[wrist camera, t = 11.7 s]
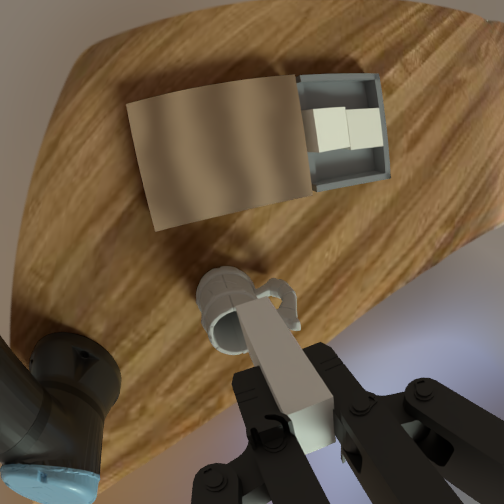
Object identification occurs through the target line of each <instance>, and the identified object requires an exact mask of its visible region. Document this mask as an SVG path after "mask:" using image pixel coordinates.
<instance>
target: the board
mask: <svg viewBox="0 0 504 504" xmlns="http://www.w3.org/2000/svg"><path fill="white" fill-rule="evenodd" d="M126 107H127V112H128V117H129V122H130V127H131V132H132V137H133V142H134V147H135V151H136V156H137V160H138V165H139V169H140V173H141V178H142V182H143V186H144V190H145V194H146V198H147V202H148V206H149V210H150V213H151V217H152V221H153V225H154V228H155V232H156V231H160V230H164V229H168V228H172V227H176V226H180V225H184V224H188V223H192V222H196V221H200V220H204V219H209V218H213V217H217V216H221V215H226V214H230V213H234V212H238V211H243V210H247V209H252V208H256V207H261V206H265V205H270V204H274V203H279V202H283V201H288V200H293V199H298V198H302V197H307V196H312V195H313V192H312V184H311V176H310V168H309V161H308V154H307V147H306V140H305V133H304V126H303V120H302V114H301V107H300V101H299V95H298V90H297V84H296V78H295V74H294V75H282V76H271V77H262V78H253V79H245V80H238V81H231V82H225V83H219V84H213V85H207V86H202V87H196V88H191V89H186V90H181V91H177V92H172V93H168V94H163V95H159V96H155V97H151V98H147V99H143V100H140V101H136V102H132V103H129V104H126Z"/></svg>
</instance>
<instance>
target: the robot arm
mask: <svg viewBox="0 0 504 504" xmlns="http://www.w3.org/2000/svg"><path fill="white" fill-rule="evenodd" d="M235 308H236V311H237V315H238V318H239V321H240V325H241V328H242V332H243V335H244V338H245V342H246V345H247V349H248V352H249V354H250V357H251V359H252V361H253V364H254V366H255V367H253V368H250V369H247V370H244V371H240V372H237V373H234V376H233V380H232V387H233V390H234V393H235V396H236V399H237V402H238V406H239V409H240V412H241V415H242V418H243V420H244V423H245V426H246V434H247V438H248V440H249V442H248V446H247V448H246V450H245V451H244V452H243V453H242V455H240V456H239V457H238V458H236V459H234V460H233V461H231V462H230V463H228V464H221V463H214V464H210V465H207V466H205V467H203V468H201V469H200V470H199V471H198V473H197V474H196V475H195V478H194V481H193V488H192V499H191V504H267V503H268V502H269V501H271V500H272V503H273V504H330V502H329V501H328V499H327V497H326V495H325V493H324V491H323V489H322V487H321V485H320V483H319V481H318V480H317V477H316V476H315V474H314V472H313V470H312V468H311V466H310V464H309V462H308V460H307V458H306V456H305V455H306V454H308V453H311V452H313V451H316V450H318V449H321V448H323V447H325V446H328V445H330V444H332V443H335V442H336V438H335V435H336V437H337V439H338V440H339V442H340V444H341V460H342V463H344V462H345V459H346V461H347V462H348V464H349V466H350V467H351V469H352V471H353V472H354V474H355V476H356V477H357V479H358V481H359V482H360V484H361V485H362V487H363V489H364V490H365V492H366V493H367V495H368V497H369V499H370V500H371V502H372V504H463V502H462V501H461V500H460V498H459V497H458V496H457V495H456V493H455V492H454V491H453V490H452V488H451V487H450V486H449V485H448V483H447V482H446V481H445V479H446V480H447V481H449V482H450V483H451V484H453V485H454V486H456V487H457V488H459V489H460V490H461V491H463V492H464V493H466V494H467V495H469V496H470V497H472V498H473V499H474V500H476V501H477V502H479V503H480V504H504V421H503V420H501V419H500V418H498V417H496V416H495V415H493V414H491V413H489V412H488V411H486V410H484V409H483V408H481V407H479V406H478V405H476V404H474V403H473V402H471V401H469V400H468V399H466V398H464V397H463V396H461V395H459V394H457V393H456V392H454V391H453V390H451V389H449V388H447V387H446V386H444V385H443V384H441V383H439V382H438V381H436V380H433V379H431V378H419V379H415V380H414V381H412V382H411V383H409V384H408V386H407V387H406V389H405V392H400V393H396V394H392V395H386V396H379V395H375V394H374V393H371V392H368V391H365V389H364V388H362V386H361V385H360V384H359V382H358V381H357V380H356V379H355V377H354V376H353V375H352V373H351V372H350V371H349V370H348V368H347V367H346V366H345V365H344V364H343V362H342V361H341V359H340V358H338V356H337V354H336V353H335V352H334V350H333V349H332V348H331V347H329V346H327V345H325V344H324V343H322V342H319V343H316V344H314V345H311V346H309V347H306V348H304V349H302V348H301V347H300V345H299V344H298V342H297V341H296V339H295V338H294V336H293V335H292V333H291V332H290V330H289V329H288V327H287V326H286V324H285V323H284V321H283V320H282V318H281V316H280V315H279V313H278V312H277V310H276V309H275V307H274V306H273V304H272V303H271V301H270V300H269V298H268V297H267V296H265V297H262V298H259V299H256V300H253V301H249V302H246V303H243V304H240V305H237V306H235ZM29 370H30V372H29V371H28V369H27V368H26V367H25V366H24V365H23V364H22V362H21V361H20V360H19V359H18V358H17V356H16V355H15V354H14V353H13V352H12V350H11V349H10V348H9V347H8V345H7V344H6V343H5V341H4V340H3V339H2V337H1V336H0V462H1V463H2V466H1V468H0V472H1V478H2V480H3V481H4V482H5V484H6V485H7V486H8V487H9V488H10V489H12V490H13V491H15V492H17V493H18V494H20V495H22V496H24V497H26V498H29V499H31V500H34V501H36V502H39V503H43V504H92V503H93V502H94V501H95V499H96V496H97V489H98V482H99V481H100V464H101V450H102V438H103V428H104V420H105V418H106V416H107V414H108V413H109V411H110V409H111V407H112V406H113V405H114V404H115V402H116V401H117V399H118V397H119V394H120V388H121V373H120V370H119V367H118V365H117V363H116V362H115V360H114V359H113V357H112V356H111V355H110V354H109V353H108V352H107V351H106V350H105V349H104V348H103V347H101V346H100V345H98V344H97V343H95V342H94V341H92V340H90V339H88V338H86V337H83V336H80V335H77V334H73V333H66V332H59V333H52V334H49V335H47V336H45V337H43V338H42V339H41V340H39V342H38V343H37V344H36V346H35V348H34V350H33V352H32V354H31V357H30V362H29Z"/></svg>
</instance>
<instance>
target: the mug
mask: <svg viewBox="0 0 504 504" xmlns="http://www.w3.org/2000/svg"><path fill="white" fill-rule="evenodd" d="M270 295H272V296H273V297H278V298H281V299H282V303H281V305H280V307H279V309H276V310H277V312H278V313H279V315H280V316H281V318H282V320H283V321H284V323H285V324H286V326H287V327H288V328H289V329H291V330H295V331H299V330H301V325H300V321H299V320H298V319H297V297H296V294H295V291H294V290H293V289H292V288H291V287H290V286H289V285H288V283H287V282H285V281H283V280H281V279H276V278H271V279H270V280H269V281H268V282H267V283H266V284H264V285H263V286H261V287H260V288H258V289H255V287H254V284H253V282H252V280H251V279H250V278H249V276H248V275H247V274H245V273H244V272H243V271H241V270H238V269H237V268H235V267H232V266H221V267H220V268H214V269H212V270H210V271H209V272H207V273H206V274H205V275H204V276H203V277H202V279H201V280H200V283H199V285H198V287H197V291H196V304H197V305H198V308H199V310H200V311H201V313H202V320H201V323H202V325H203V327H204V329H205V331H206V332H207V333H208V337H209V340H210V342H211V344H212V345H213V346H214V347H215V348H216V349H217V350H218V351H220V352H222V353H225V354H229V355H238V354H241V353H247V352H248V349H247V345H246V342H245V338H244V335H243V332H242V328H241V325H240V321H239V318H238V315H237V311H236V308H235V306H237V305H240V304H243V303H246V302H249V301H253V300H256V299H259V298H262V297H265V296H267V297H268V296H270Z"/></svg>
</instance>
